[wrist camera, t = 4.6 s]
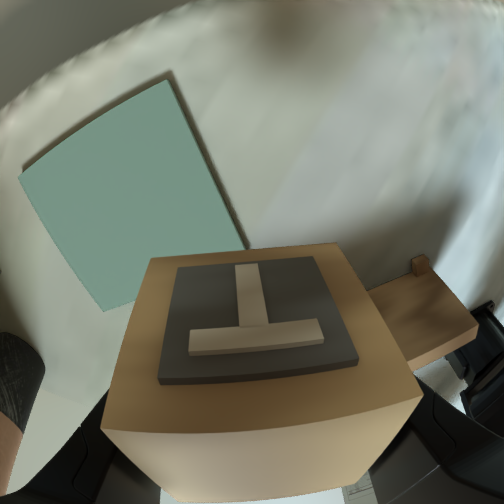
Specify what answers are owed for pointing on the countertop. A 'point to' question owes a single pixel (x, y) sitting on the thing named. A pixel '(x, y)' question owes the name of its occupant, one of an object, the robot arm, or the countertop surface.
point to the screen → (423, 315)
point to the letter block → (256, 376)
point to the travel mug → (15, 398)
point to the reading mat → (129, 196)
